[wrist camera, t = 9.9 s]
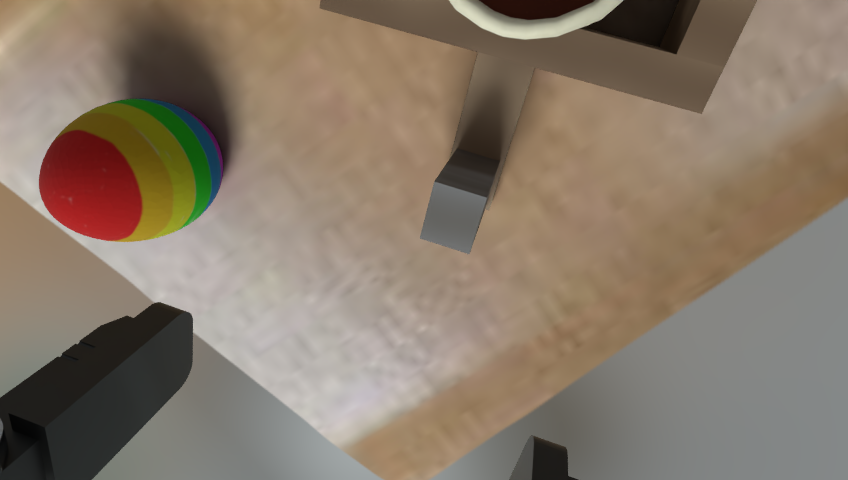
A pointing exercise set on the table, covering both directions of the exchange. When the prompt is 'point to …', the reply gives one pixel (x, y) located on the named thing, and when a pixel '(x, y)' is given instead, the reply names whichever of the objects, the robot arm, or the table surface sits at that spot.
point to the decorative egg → (131, 171)
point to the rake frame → (565, 55)
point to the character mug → (533, 15)
